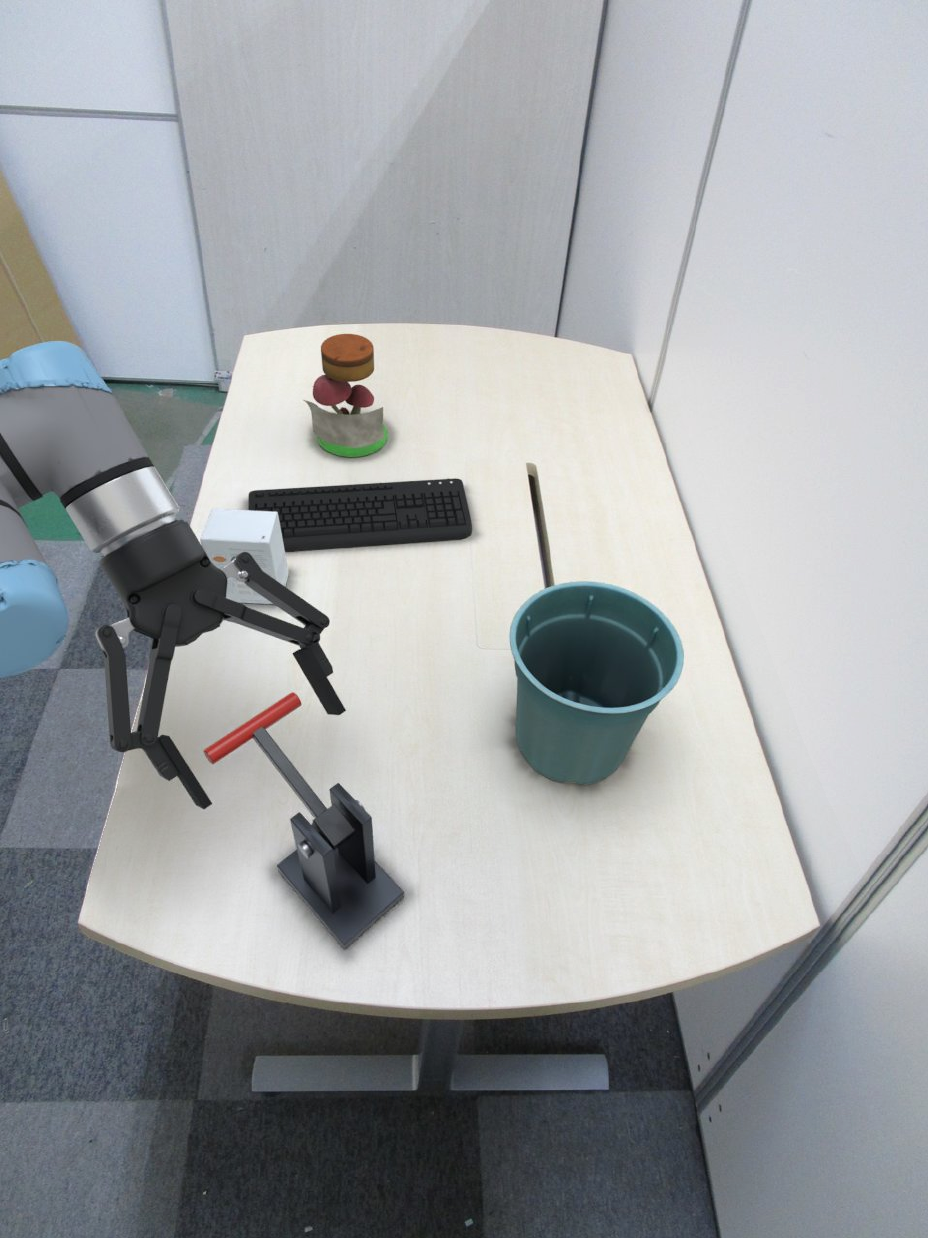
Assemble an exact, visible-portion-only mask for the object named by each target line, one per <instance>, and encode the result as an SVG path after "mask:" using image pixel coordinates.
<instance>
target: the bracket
mask: <svg viewBox="0 0 928 1238" xmlns="http://www.w3.org/2000/svg"><path fill="white" fill-rule="evenodd" d="M328 791H329V796H330V804H331V805H330V806H332V805H333V804H335V805H336V806H337V808H338V809H339V810H340V811H341V813H342V814H343V815H344V816H345V818H346V819H347V820H348V822H349V823H350V824H351V825H352V827H353V828H354V829H355V831H354V833H353V834H352V836H351V837H350V838H349V839H348V840H346V841H345V842H344V843H343V844H341V845H340V846H339V847H338V848H336V849H335V850H334V851H333V849H332V847H331V846H330V845H329V844H328V843H327V842H326V841H325V839H324V838H323V837H322V836H321V835H320V834H319V833H318V832H317V831H316V830H315V828H314V827H313V826H312V825H311V824H312V823H310V822H309V820H308V819H307V818H306V817H305V816H304V815H303V813H301V812H300V811H299V812H297V813H296V814H294V815H293V816H292V817H291V818H289V821H290V825H291V826H290V827H291V830H292V834H293V839H294V843H295V847H296V850H294V851H293V852H292V853H290V854H289V855H288V856H287V857H285V858H284V859H283V860H282V861H280V862H278V863H277V865H276V868H277V871H278V872H279V874H280V875H281V876H282V877H283V879H284V880H286V882H287V883H288V885H290V886H291V888H292V889H293V890H294V891H295V893H296V894H297V895H298V896H299V897H300V898H301V900H302V901H303V902H304V904H305V905H306V906H307V907H308V908H309V910H311V912H312V913H313V914H314V915H315V916H316V918H317V919H318V920H319V921H320V923H322V925H323V926H324V927H325V929H327V931H328V932H329V934H331V936H332V937H333V938H334V939H335V940H336V941H337V943H338V944H339V945H340V946H341V947H342V949H343V950H347V948H348V947H350V946H351V945H352V944H353V943H354V942H355V941H356V940H357V939H358V938H360V937H361V936H362V935H363V934H364V933H365V932H367V931H368V930H369V929H370V928H371V927H372V926H373V925H374V924H375V923H377V922H378V921H379V920H380V919H381V918H382V917H383V916H385V915H386V914H387V913H388V912H389V911H390V910H391V909H393V908H394V907H395V906H396V905H397V904H398V903H399V902H400V901H401V900H403V899H404V898H405V891H404V890H403V889H402V887H400V886H399V885H398V884H397V882H396V881H394V879H393V878H392V877H391V876H390V875H389V874H388V873H387V872H386V871H385V869H383V868H382V866H381V865H380V864H379V863H378V862H377V861H376V860H375V844H374V843H375V842H374V830H373V829H374V828H373V818H372V815H370V813H368V812H367V810H366V808H365V807H364V805H363V804H362V803H361V802H360V800H358V799H355V798H354V797H353V796H352V795H351V794H350V792H349V791H348V790H347V789H345V788H344V786H342V785H341V783H339V782H337V783H336V784H334V785H333V786H332V787H331V788H329V790H328Z"/></svg>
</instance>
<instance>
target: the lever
mask: <svg viewBox="0 0 928 1238" xmlns="http://www.w3.org/2000/svg"><path fill="white" fill-rule="evenodd" d="M300 707H302V700H301V699H300V697H299V696H298V695H297V694H296V693H295V692H294V691H291V692H290V693H289V694H287V695H286V696H284V697H282V698H281V699H279V700H278V701H276V702H274V703H273V704H271V705H270V706H269V707H267V708H265V709H264V710H263V711H261V712H259V713H258V714H256V715H254V716H253V717H252V718H250V719H249V720H247V721H245V722H244V723H243V724H241V725H240V726H238V727H237V728H235V729H234V730H232V731H231V732H229V733H227V734H226V735H224V736H223V737H221V738H220V739H218V740H216V741H215V742H214V743H212V744H211V745H209V746H208V747H206V748H205V749H203V750H202V752H203V755H204V757H205V758H206V759H207V761H208V762H209V764H211V765H214V764H216V763H218V762H219V761H221V760H223V759H224V758H225V757H227V756H229V755H230V754H231V753H233V752H234V751H236V750H237V749H239V748H240V747H242V746H243V745H244V744H246V743H248V742H249V741H251V740H252V739H253V741H254V742H255V743H256V745H257V746H258V747H259V748H260V749H261V751H262V752H263V754H264V755H265V756H266V758H267V759H268V760H269V761H270V763H271V764H272V765H273V767H275V769H276V771H277V772H278V773H279V774H280V776H281V777H282V779H284V781H285V782H286V784H287V785H288V786H289V787H290V788H291V790H292V791H293V792H294V794H295V796H297V798H298V799H299V800H300V801H301V803H302V804H303V805H304V807H305V808H306V809H307V810H308V812H309V814H310V815H311V816H312V817H313V820H312V822H311V823H310V824H311V825H312V826H313V827H314V828H315V830H316V831H317V832H318V833H319V834H320V835H321V836H322V837H323V838H324V839H325V841H326V842H327V843H328V844H329V845H330V846H331V847H332V849H333V851H334V850H335V849H336V848H338V847H339V846H340V845H341V844H343V843H344V842H345V841H346V840H348V839H349V838H350V837H351V836H352V834H353V833H354V831H355V829H354V828H353V827H352V825H351V824H350V823H349V822H348V820H347V819H346V818H345V816H344V815H343V814H342V813H341V811H340V810H339V809H338V808H337V806H336V805H335V804H333V805H330V806H329V807H327V806H325V804H324V803H323V801H322V800H321V798H319V796H318V795H317V794H316V792H315V790H313V789H312V787H311V786H310V784H309V783H308V782H307V781H306V779H305V778H304V777H303V776H302V774H301V773H300V772H299V770H298V769H297V767H296V766H295V765H294V764H293V763H292V761H290V759H289V758H288V756H287V755H286V754H285V752H284V751H283V750H282V749H281V747H280V746H279V745H278V743H277V742H276V741H275V739H274V738H273V737H272V736H271V735H270V733H269V732H268V731H267V729H269V728H270V727H272V726H273V725H275V724H276V723H277V722H279V721H281V720H282V719H283V718H285V717H286V716H288V715H289V714H291V713H293V712H294V711H296V710H297V709H299V708H300Z"/></svg>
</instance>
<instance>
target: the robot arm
mask: <svg viewBox="0 0 928 1238" xmlns="http://www.w3.org/2000/svg"><path fill="white" fill-rule="evenodd" d="M51 492H53V493H54V494H55V495H56V496H57V498H58V499H59V502H60V503H61V505H62V507H63V509H64V510H65V511H66V512H67V514H68V515H69V517H70V518H71V520H72V522H73V524H74V525H75V527H76V528H77V530H78V532H79V534H80V535H81V537H82V538H83V541H84V542H85V543H86V545H87V547H88V548H89V550H90V552H91V553H95V554H100V553H101V555H102V556H103V558H101V559H100V564H99V566H100V568H101V569H102V571H103V572H104V574H105V576H106V577H107V580H108V581H109V583H110V584H111V586H112V587H113V589H114V590H115V592H116V593H117V594H118V597H119V598H120V600H121V602H122V603H123V605H124V608H125V611H126V616H127V617H126V618H123V619H122V620H119V621H116V622H114V623H111V624H104V625H101V626H99V627H98V628H96V629H95V630H94V631H93V638H94V639H95V641H96V643H97V645H98V648H99V650H100V651H101V654H102V656H103V663H104V677H105V693H106V704H107V705H106V706H107V718H108V720H107V721H108V735H109V745H110V748H112V750H114V751H117V752H119V753H127V752H128V751H129V752H130V751H133V750H136V749H141V750H142V751H143V752H144V753H145V754H146V756H147V758H148V760H149V761H150V763H151V765H152V766H153V768H154V769H155V770H156V772H157V773H158V775H159V776H160V778H162V779H164V780H166V781H168V782H170V781H172V780H173V779H175V778H176V777H177V778H178V780H179V781H180V783H181V785H182V786H183V787H184V789H185V790H186V792H187V794H188V796H189V797H190V798H191V800H192V801H193V803H194V805H195V806H197V807H199V808H200V809H203V810H206V809H208V808H209V807H210V806H212V805H213V802H212V801H211V799H210V798H209V795H208V794H207V793H206V791H205V790H204V788H203V787H202V785H201V783H200V782H199V780H198V778H197V777H196V776H195V774H194V773H193V771H192V769H191V768H190V766H189V765H188V763H187V762H186V759H185V758H184V756H183V755H182V753H181V752H180V750H179V749H178V747H177V745H176V744H175V743H174V741H173V739H172V738H171V736H170V735H167V734H160V735H159V733H160V732H159V731H160V727H161V721H162V715H163V710H164V704H165V699H166V693H167V688H168V681H169V676H170V671H171V665H172V661H173V659H174V655H175V650H176V647H185V646H189V645H190V644H192V643H193V642H195V641H197V640H198V639H199V638H200V636H202V635H203V634H205V633H209V632H213V631H214V630H216V629H218V628H220V627H221V625H222V623H223V621H226V622H229V623H234V624H237V625H240V626H242V627H246V628H249V629H251V630H254V631H257V632H259V633H262V634H264V635H267V636H271V637H273V638H276V639H279V640H282V641H284V642H287V643H289V644H293V645H296V646H298V647H299V648H298V649H296V650H295V651H293V652H292V654H291V655H292V656H293V658H294V659H295V661H296V662H297V665H298V666H299V668H300V669H301V671H302V673H303V674H304V677H305V678H306V680H307V681H308V683H309V685H310V687H311V688H312V690H313V692H314V694H315V695H316V697H317V699H318V700H319V702H320V704H321V705H322V707H323V709H324V710H325V712H326V714H327V715H331V716H341V715H342V714H343V713H345V712H346V711H347V709H346V708H345V706H344V704H343V702H342V700H341V699H340V697H339V696H338V694H337V692H336V690H335V688H334V687H333V684H331V682H330V680H329V678H328V677H329V676H331V675H332V674H334V670H333V665H332V664H331V662H330V661H329V658H328V657H327V654H326V653H325V651H324V649H323V647H322V646H321V644H320V641H321V634H322V632H323V631H324V630H325V629H326V628H328V627H329V626H330V623H331V622H330V621H331V620H330V617H329V616H328V615H327V614H325V613H323V612H322V611H321V610H320V609H318V608H316V607H315V606H313V605H312V604H310V603H309V602H308V601H306V600H305V599H303V598H302V597H300V595H298V594H296V593H295V592H294V591H292V590H291V589H289V588H288V587H286V586H283V585H282V584H281V583H279V582H278V581H276V580H275V579H273V578H272V577H271V576H269V575H268V574H266V573H265V572H263V571H262V569H261V568H260V567H259V565H258V564H257V562H256V561H255V560H254V558H253V557H252V556H251V554H250V553H248V552H242V553H240V554H238V555H236V556H234V557H233V558H232V559H231V561H230V562H229V563H228V564H226V565H225V566H223V567H222V568H220V569H219V568H217V567H216V566H215V565H213V564H212V562H211V561H210V559H209V558H208V556H207V554H206V552H205V551H204V549H203V547H202V545H201V541H200V539H199V538H198V537H197V535H196V534H195V532H194V530H193V528H192V526H191V525H190V524H189V522H188V521H187V520H186V521H185V520H184V519H183V518H182V519H178V518H177V516H176V515H178V514H179V512H180V506H179V505H178V503H177V501H176V499H175V497H173V494H172V493H171V491H170V489H169V488H168V487H167V484H166V483H165V481H164V480H163V478H162V477H161V475H160V473H159V472H158V470H157V468H156V467H155V465H154V464H153V462H152V460H151V458H150V456H149V454H148V453H147V451H146V449H145V447H144V446H143V444H142V442H141V440H140V439H139V437H138V435H137V434H136V431H135V430H134V428H133V427H132V425H131V423H130V422H129V420H128V418H127V417H126V414H125V413H124V411H123V409H122V407H121V406H120V404H119V402H118V400H117V399H116V398H115V395H114V393H113V392H112V389H111V388H110V387H109V386H108V385H107V384H106V382H105V381H104V379H103V377H102V376H101V374H100V372H99V371H98V370H97V369H96V367H95V366H94V364H93V362H92V361H91V359H90V358H89V356H88V354H87V353H86V352H85V351H84V350H83V349H82V348H81V347H80V346H78V345H77V344H75V343H72V342H70V341H64V340H50V341H44V342H39V343H35V344H32V345H29V346H25V347H24V348H21V349H19V350H16V351H14V352H12V354H11V355H10V356H8V357H6V358H3V359H0V679H3V678H8V677H13V676H17V675H21V674H23V673H26V672H29V671H30V670H33V669H35V668H36V667H38V666H40V665H41V664H43V663H44V662H45V661H47V660H49V658H50V657H52V656H53V655H54V654H55V653H56V652H57V651H58V649H59V648H60V646H61V645H62V643H63V642H64V640H65V638H66V637H67V633H68V629H69V624H70V623H69V621H70V617H69V611H68V607H67V605H66V603H65V600H64V597H63V595H62V593H61V592H62V591H61V590H60V587H59V584H58V583H59V582H58V577H57V576H56V574H55V572H54V571H53V569H52V568H51V567H50V566H49V565H48V563H47V562H46V559H45V557H44V555H43V554H42V552H41V550H40V549H39V547H38V544H37V543H36V541H35V539H34V537H33V535H32V534H31V532H30V529H29V527H28V525H27V523H26V521H25V519H24V517H23V515H22V513H21V511H20V508H22V507H24V506H26V505H28V504H30V503H33V502H35V501H37V500H39V499H42V498H44V496H45V495H47V494H49V493H51ZM227 579H233V580H234V581H235V582H237V583H243V582H244V583H245V584H246V585H247V586H248V587H250V588H251V589H252V590H254V591H255V592H257V593H258V594H260V595H261V596H263V597H264V598H266V599H267V600H269V601H270V602H271V603H273V604H272V605H274V606H275V607H277V608H279V609H280V610H281V611H283V612H284V613H286V614H288V615H289V616H291V617H292V618H293V619H295V620H296V621H298V622H299V623H301V624H302V625H304V626H303V627H302V626H299V625H296V624H294V623H291V622H288V621H285V620H283V619H280V618H278V617H275V616H272V615H269V614H267V613H264V612H261V611H259V610H256V609H254V608H250V607H248V606H247V605H246V604H244V603H240V602H235V601H233V600H230V599H227V598H226V593H227ZM132 631H134V632H136V633H139V634H141V635H143V636H146V637H148V638H150V639H151V643H150V644H151V645H150V649H149V656H148V657H149V658H148V659H149V661H148V667H147V672H146V676H145V677H146V678H145V682H144V688H143V693H142V694H143V695H142V700H141V705H140V709H139V716H138V722H137V726H136V731H132V727H131V726H132V725H131V713H130V700H129V698H130V697H129V686H128V671H127V670H128V669H127V659H126V653H125V648H127V647H128V646H129V644H130V633H131V632H132Z"/></svg>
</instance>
